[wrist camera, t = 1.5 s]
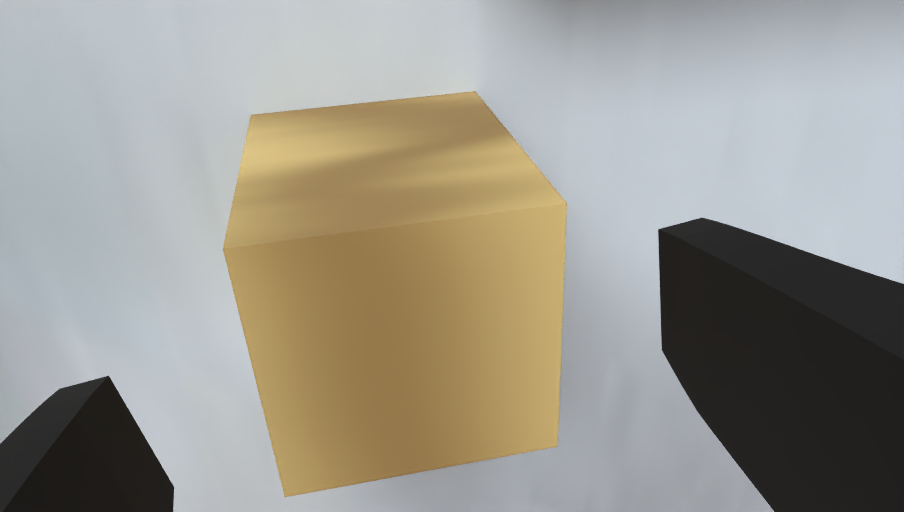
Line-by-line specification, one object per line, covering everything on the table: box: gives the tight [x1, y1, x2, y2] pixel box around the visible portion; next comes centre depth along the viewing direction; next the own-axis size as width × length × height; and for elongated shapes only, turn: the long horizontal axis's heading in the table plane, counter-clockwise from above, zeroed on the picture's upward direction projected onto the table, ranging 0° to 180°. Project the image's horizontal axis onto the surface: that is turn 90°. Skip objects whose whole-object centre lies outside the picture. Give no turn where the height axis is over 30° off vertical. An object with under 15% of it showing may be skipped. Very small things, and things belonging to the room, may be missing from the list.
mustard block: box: [223, 91, 567, 497], centre depth 11 cm, size 4×4×5 cm
